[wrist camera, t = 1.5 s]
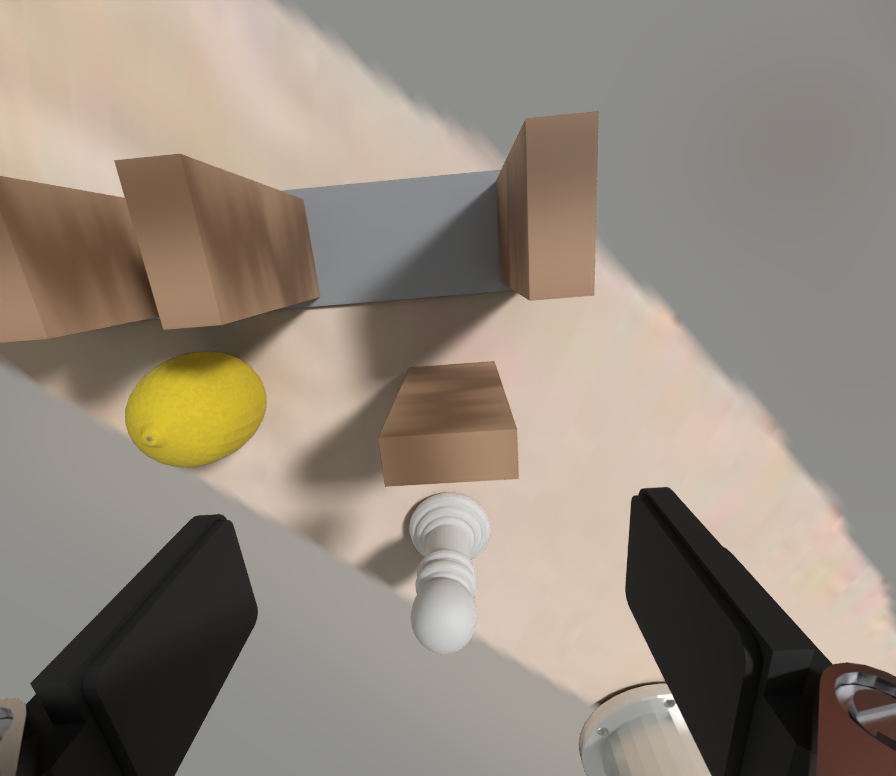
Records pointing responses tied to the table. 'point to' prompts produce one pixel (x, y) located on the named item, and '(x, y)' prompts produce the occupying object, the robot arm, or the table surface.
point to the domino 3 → (449, 427)
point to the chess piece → (447, 569)
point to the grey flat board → (403, 238)
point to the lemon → (195, 409)
